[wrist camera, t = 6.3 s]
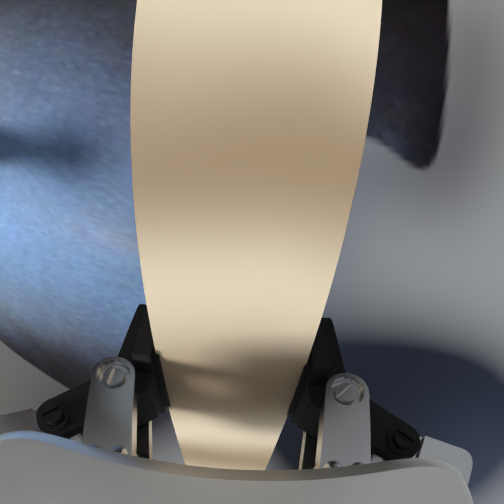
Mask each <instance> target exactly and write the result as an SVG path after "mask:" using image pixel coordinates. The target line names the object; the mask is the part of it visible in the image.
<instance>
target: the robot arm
mask: <svg viewBox="0 0 504 504" xmlns="http://www.w3.org/2000/svg"><path fill="white" fill-rule="evenodd" d="M166 406H168V407H171V405H170V401H169V397H168V392H167V388H166V384H165V379H164V375H163V370H162V366H161V361H160V356H159V354H156V352H155V347H154V342H153V337H152V332H151V326H150V321H149V315H148V310H147V305H145V304H140V305H139V306H138V308H137V310H136V312H135V315H134V317H133V320H132V322H131V325H130V327H129V330H128V332H127V335H126V337H125V340H124V342H123V345H122V347H121V350H120V352H119V355H118V357H116V356H115V357H108V358H105V359H103V360H101V361H100V362H98V363H97V365H96V366H95V367H94V369H93V372H92V376H91V380H89V381H87V382H85V383H83V384H81V385H79V386H77V387H75V388H72V389H70V390H68V391H66V392H64V393H62V394H60V395H58V396H56V397H53V398H51V399H49V400H47V401H45V402H44V403H43V404H42V405H41V406H40V407H39V408H38V410H35V411H34V410H33V409H32V408H31V409H26V410H22V411H17V412H13V413H8V414H3V415H0V504H473V500H472V497H471V494H470V491H469V488H468V483H469V478H470V474H471V469H472V458H471V455H470V454H469V453H468V452H467V451H466V450H464V449H461V448H459V447H455V446H453V445H450V444H447V443H444V442H441V441H438V440H435V439H433V438H430V437H427V436H425V437H424V438H421V437H419V434H418V433H417V431H416V430H415V429H414V428H413V427H411V426H410V425H408V424H407V423H405V422H404V421H402V420H400V419H399V418H397V417H396V416H394V415H393V414H391V413H389V412H388V411H386V410H385V409H383V408H382V407H380V406H379V405H377V404H375V403H374V402H372V401H371V400H370V399H369V391H368V387H367V385H366V384H365V382H364V381H363V380H362V379H360V378H359V377H357V376H355V375H353V374H349V373H345V369H344V365H343V361H342V357H341V353H340V349H339V345H338V341H337V337H336V333H335V330H334V326H333V323H332V320H331V319H330V318H321V321H320V324H319V327H318V330H317V333H316V337H315V340H314V343H313V346H312V349H311V352H310V355H309V358H308V361H307V363H306V365H304V367H303V370H302V373H301V376H300V379H299V382H298V385H297V387H296V390H295V393H294V396H293V398H292V401H291V404H290V407H289V409H288V412H287V415H292V416H291V417H292V423H298V427H299V428H301V429H302V430H303V431H304V433H303V441H302V449H301V456H300V464H299V470H238V469H222V468H210V467H200V466H191V465H183V464H176V463H169V462H163V461H157V460H153V459H152V420H153V419H155V418H156V417H158V414H159V413H162V414H164V413H165V408H166Z"/></svg>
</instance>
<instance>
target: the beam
mask: <svg viewBox="0 0 504 504" xmlns="http://www.w3.org/2000/svg"><path fill="white" fill-rule="evenodd" d="M381 10H382V0H137V8H136V17H135V27H134V38H133V52H132V71H131V160H132V180H133V195H134V208H135V219H136V229H137V239H138V248H139V256H140V264H141V271H142V278H143V285H144V291H145V298H146V304H147V310H148V315H149V321H150V326H151V332H152V337H153V342H154V347H155V352H156V354H159V356H160V361H161V366H162V370H163V375H164V379H165V384H166V388H167V392H168V397H169V401H170V405H171V407H169V410H170V414H171V418H172V421H173V425H174V428H175V432H176V435H177V438H178V442H179V445H180V448H181V452H182V455H183V458H184V461H185V464H186V465H191V466H200V467H210V468H222V469H238V470H265V468H266V466H267V464H268V462H269V459H270V457H271V455H272V452H273V450H274V447H275V445H276V443H277V440H278V438H279V435H280V433H281V430H282V428H283V425H284V423H285V420H286V418H287V412H288V409H289V407H290V404H291V401H292V398H293V396H294V393H295V390H296V387H297V385H298V382H299V379H300V376H301V373H302V370H303V367H304V365H306V363H307V361H308V358H309V355H310V352H311V349H312V346H313V343H314V340H315V337H316V333H317V330H318V327H319V324H320V321H321V318H322V314H323V311H324V308H325V304H326V301H327V298H328V294H329V291H330V287H331V284H332V280H333V277H334V273H335V270H336V266H337V262H338V258H339V255H340V251H341V247H342V243H343V239H344V235H345V231H346V227H347V222H348V219H349V214H350V209H351V206H352V201H353V197H354V192H355V187H356V183H357V178H358V173H359V169H360V164H361V159H362V153H363V148H364V143H365V137H366V131H367V126H368V120H369V113H370V107H371V100H372V94H373V87H374V79H375V71H376V63H377V54H378V45H379V35H380V23H381Z"/></svg>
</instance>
